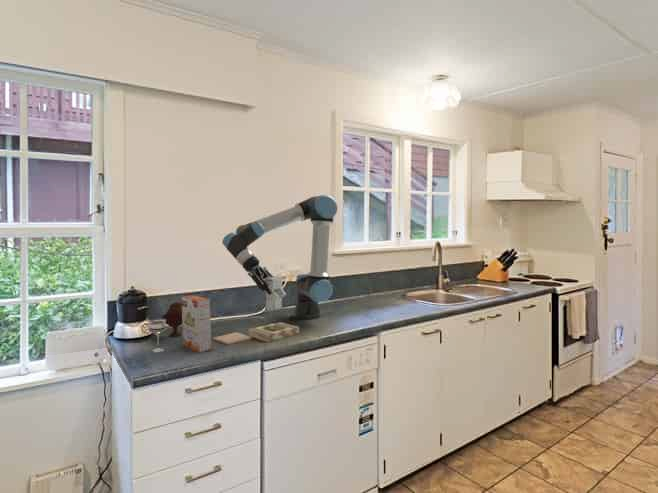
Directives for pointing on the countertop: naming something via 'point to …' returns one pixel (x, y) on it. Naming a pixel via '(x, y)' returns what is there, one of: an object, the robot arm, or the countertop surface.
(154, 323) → the wineglass
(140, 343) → the countertop surface
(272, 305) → the syrup box
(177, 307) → the ice cream bowl
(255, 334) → the well board
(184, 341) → the cracker box
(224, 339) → the terracotta tile
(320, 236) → the robot arm
